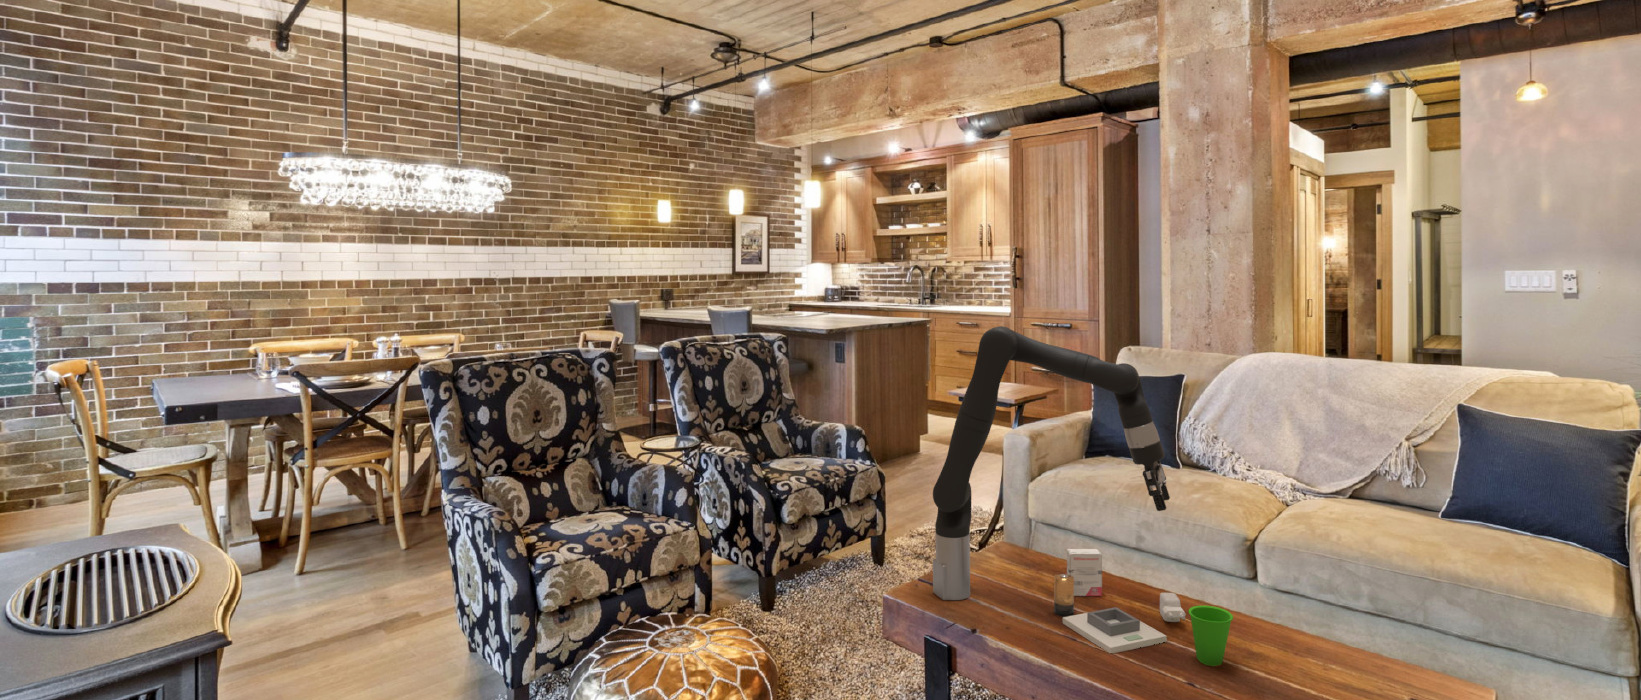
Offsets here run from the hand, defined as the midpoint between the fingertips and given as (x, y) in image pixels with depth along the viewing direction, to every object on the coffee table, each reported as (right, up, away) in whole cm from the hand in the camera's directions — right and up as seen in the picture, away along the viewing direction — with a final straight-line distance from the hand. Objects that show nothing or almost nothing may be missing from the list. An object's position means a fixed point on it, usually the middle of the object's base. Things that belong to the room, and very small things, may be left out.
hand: (1163, 505), depth 204 cm
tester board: (-14, -30, -4) cm, 33 cm away
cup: (+2, -31, -19) cm, 37 cm away
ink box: (-13, -28, +21) cm, 37 cm away
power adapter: (+3, -30, +1) cm, 30 cm away
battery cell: (-22, -29, +8) cm, 38 cm away
